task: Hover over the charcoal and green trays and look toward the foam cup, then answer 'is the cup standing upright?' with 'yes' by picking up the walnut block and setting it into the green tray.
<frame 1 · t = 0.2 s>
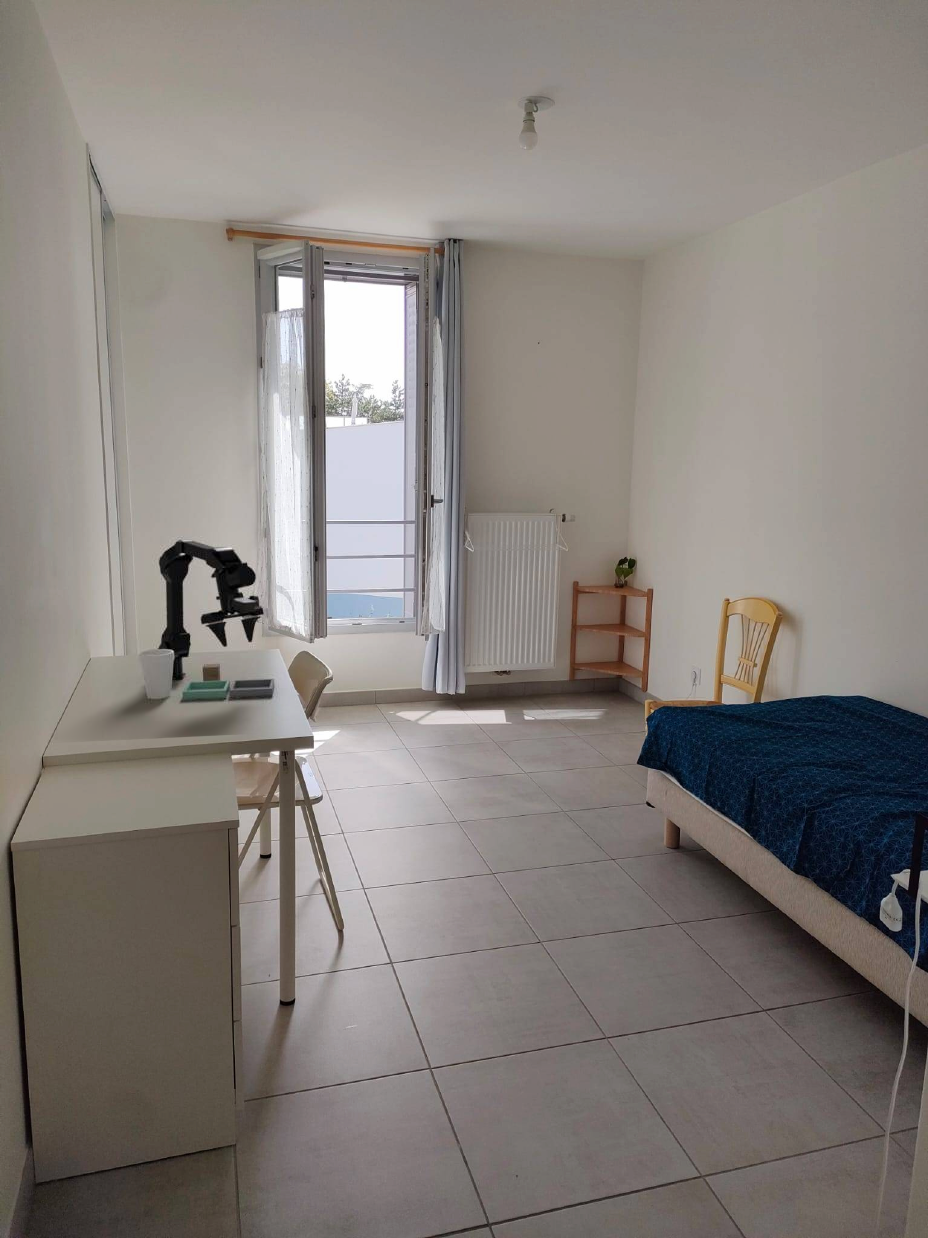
hand: (238, 644, 253), 15 cm above the table, tool pointing down, fingers open, 9 cm apart
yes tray: (207, 694, 257), on the table
foam cup: (159, 696, 255), on the table
walnut block: (212, 684, 269), on the table
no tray: (252, 692, 259), on the table
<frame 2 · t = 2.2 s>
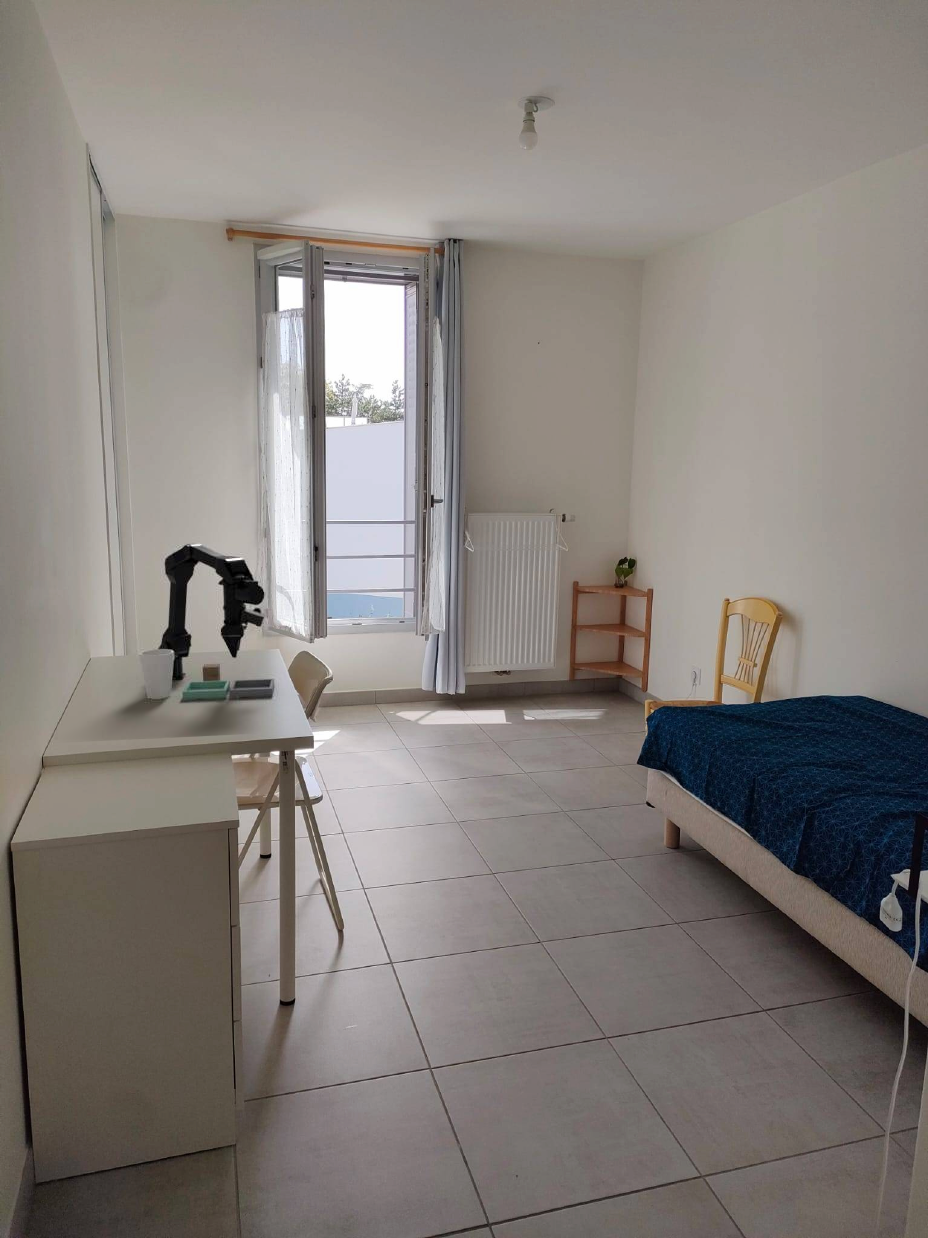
hand: (235, 654, 257), 12 cm above the table, tool pointing down, fingers open, 9 cm apart
nothing on the table moved.
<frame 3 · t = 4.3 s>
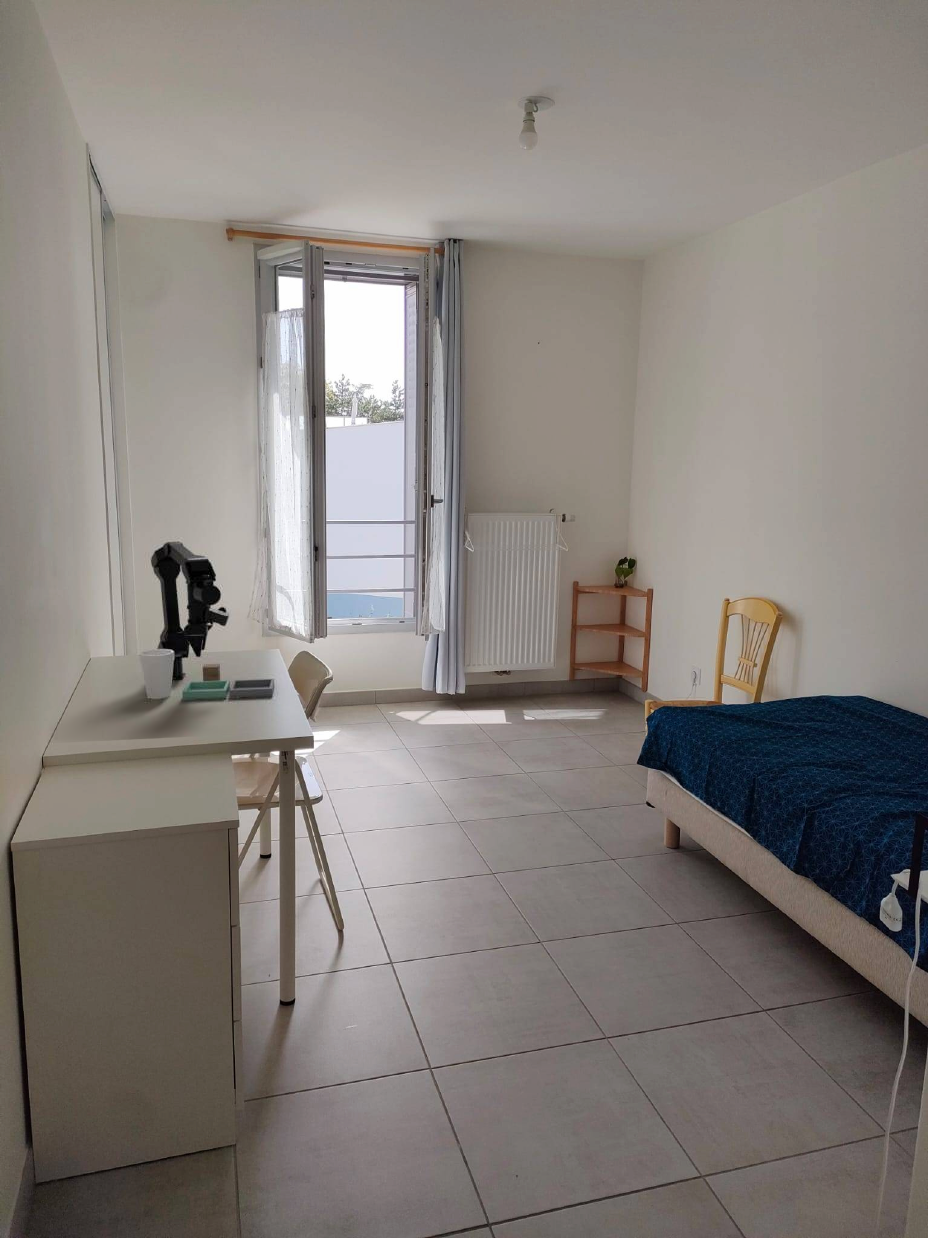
hand: (200, 653, 256), 12 cm above the table, tool pointing down, fingers open, 9 cm apart
nothing on the table moved.
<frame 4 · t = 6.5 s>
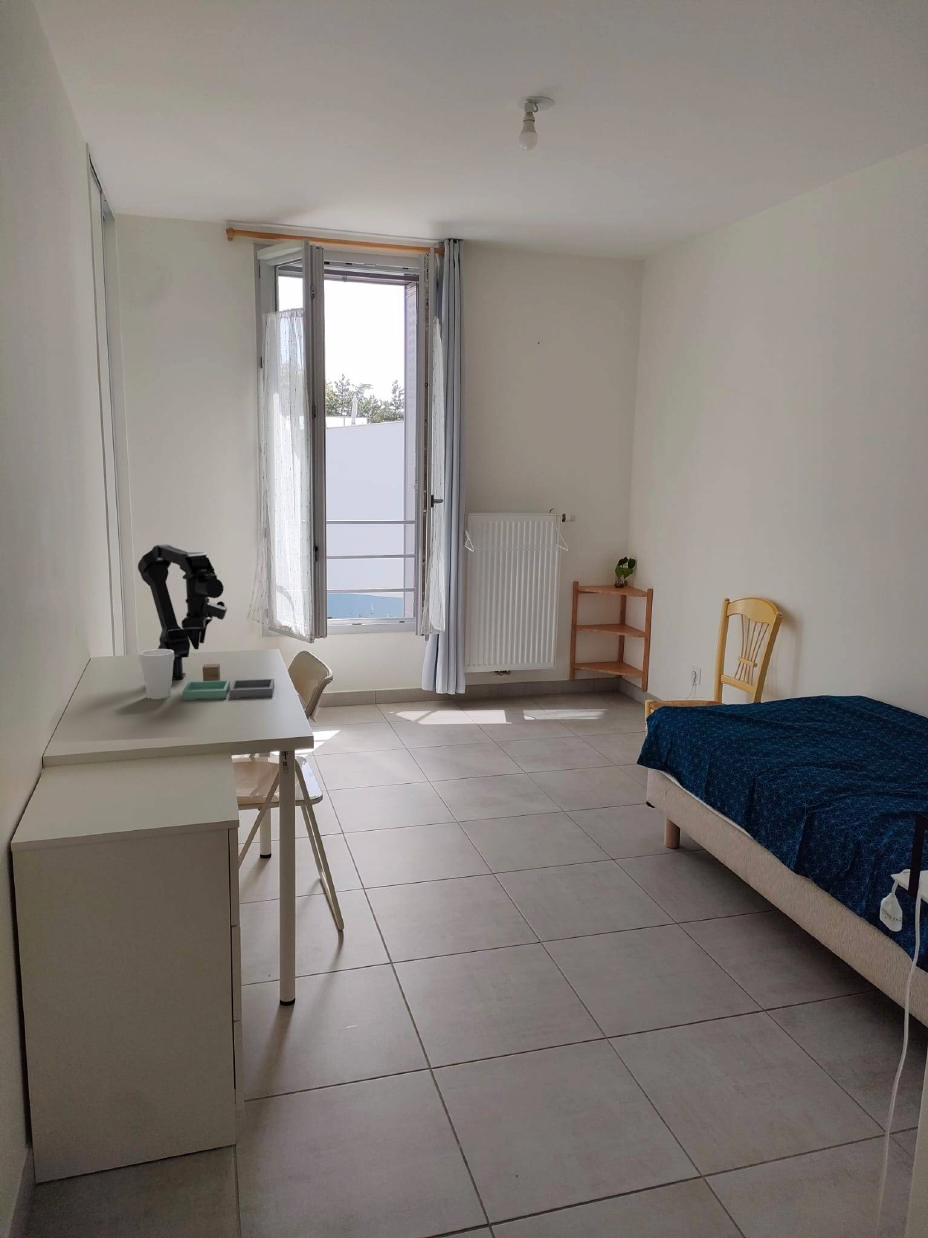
hand: (199, 646, 265), 12 cm above the table, tool pointing down, fingers open, 9 cm apart
nothing on the table moved.
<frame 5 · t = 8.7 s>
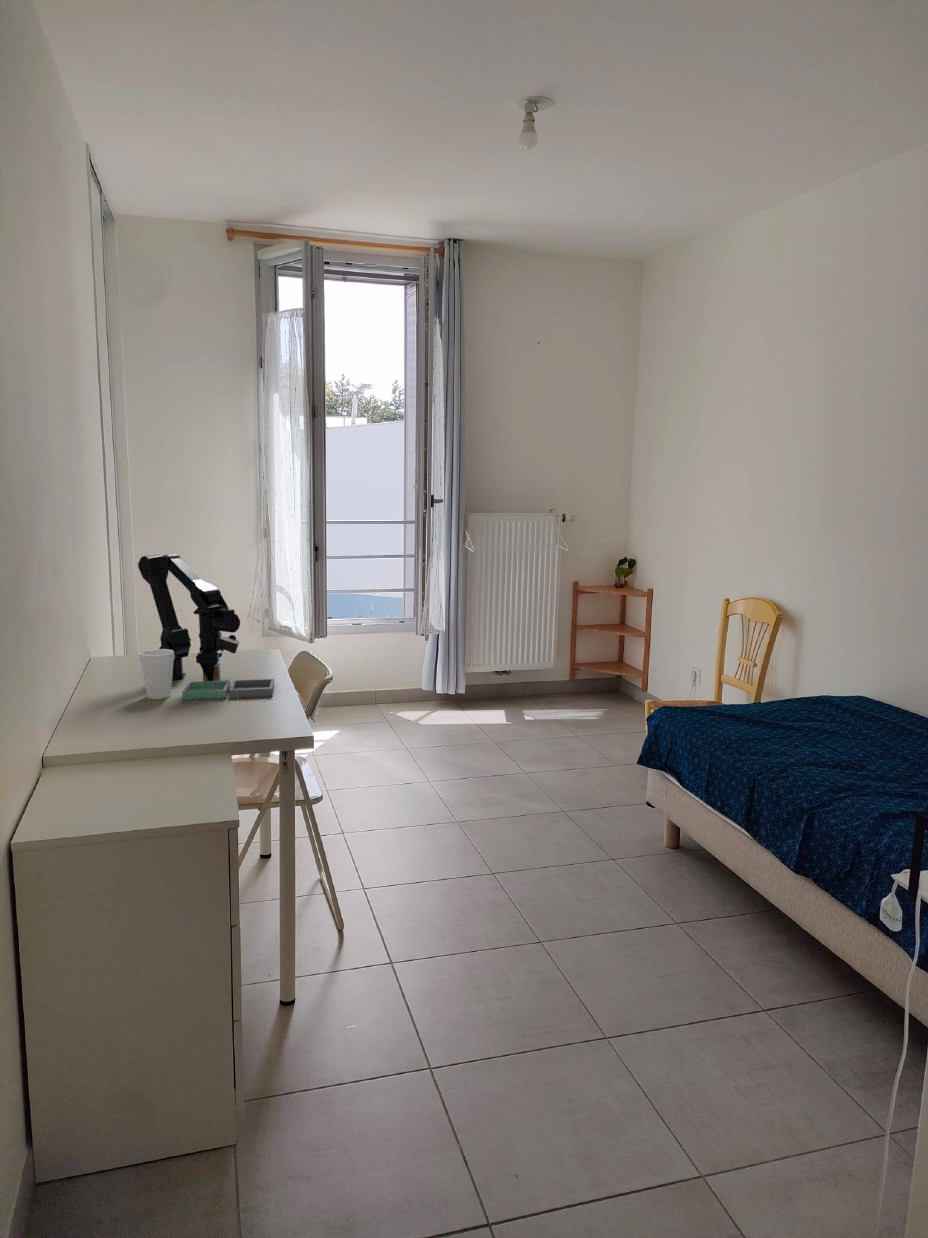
hand: (211, 679, 268), 2 cm above the table, tool pointing down, fingers closed on walnut block, 4 cm apart
walnut block: (212, 684, 269), on the table, touching gripper
everything else where it was.
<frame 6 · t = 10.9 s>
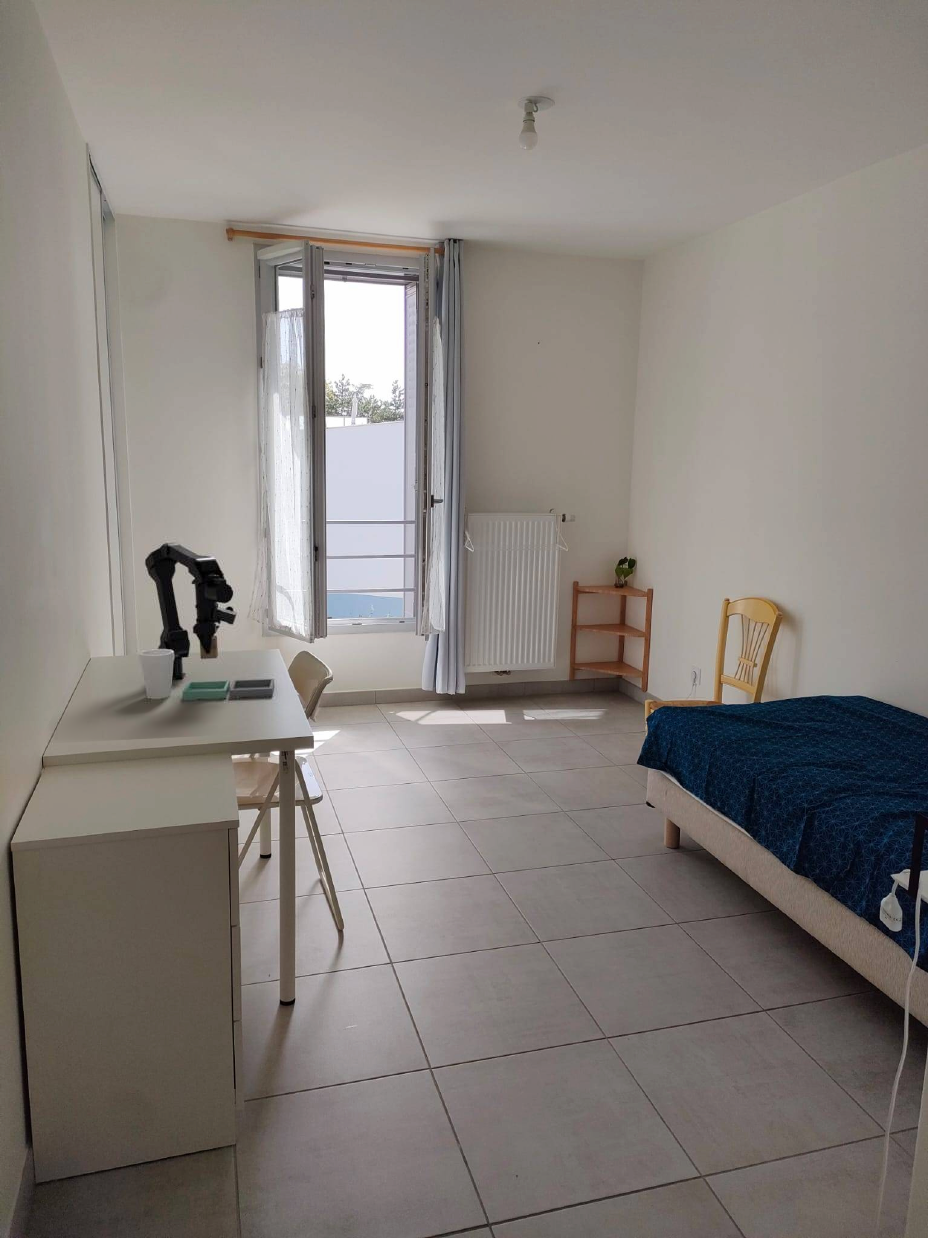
hand: (208, 652, 261), 11 cm above the table, tool pointing down, fingers closed on walnut block, 4 cm apart
walnut block: (209, 657, 262), point 10 cm above the table, touching gripper
everything else where it was.
when the fingers open (4 cm above the table, at t = 13.4 s): walnut block drops 1 cm, resting on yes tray.
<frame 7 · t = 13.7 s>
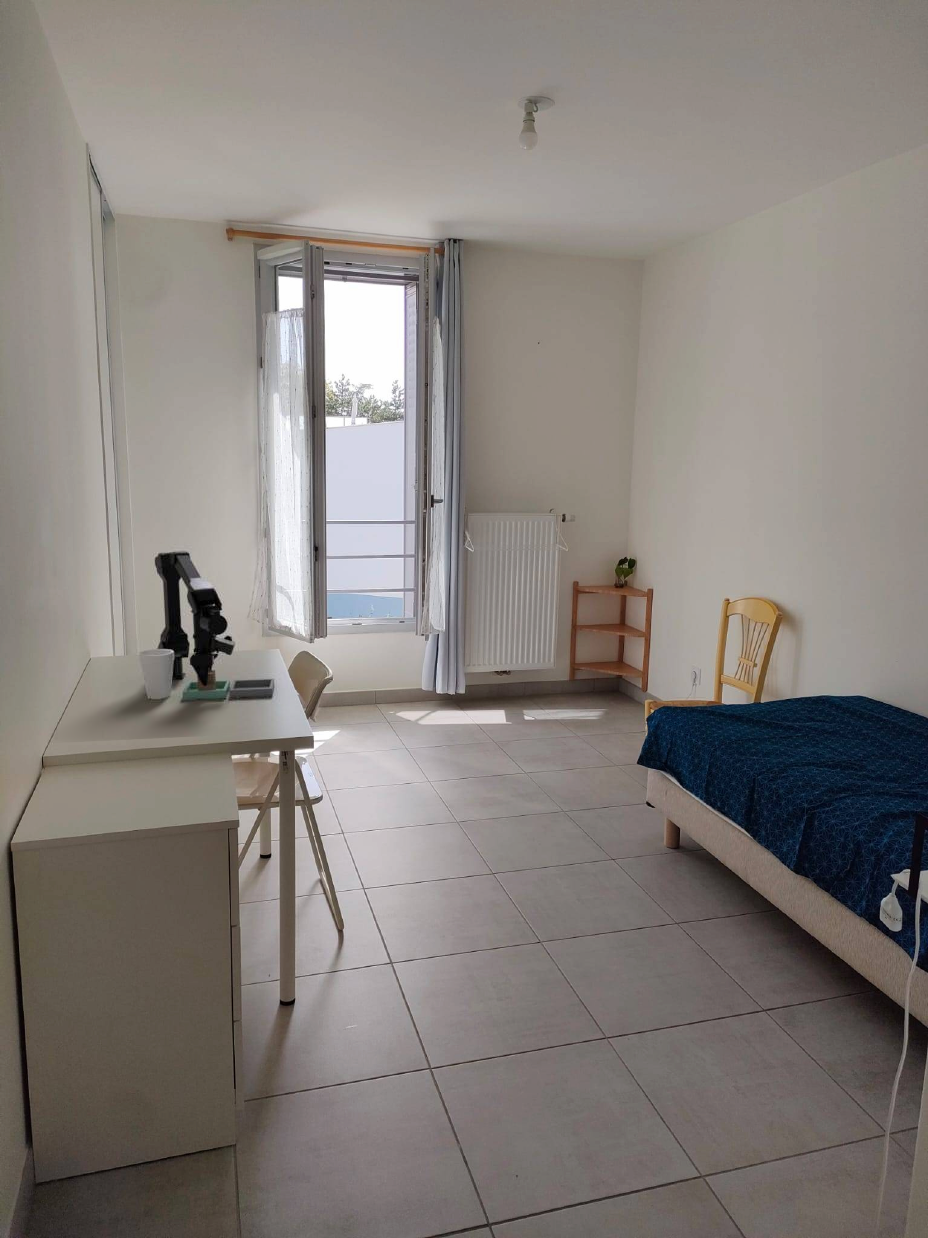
hand: (206, 682, 256), 4 cm above the table, tool pointing down, fingers open, 7 cm apart
walnut block: (207, 692, 257), point 1 cm above the table, touching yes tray
everything else where it was.
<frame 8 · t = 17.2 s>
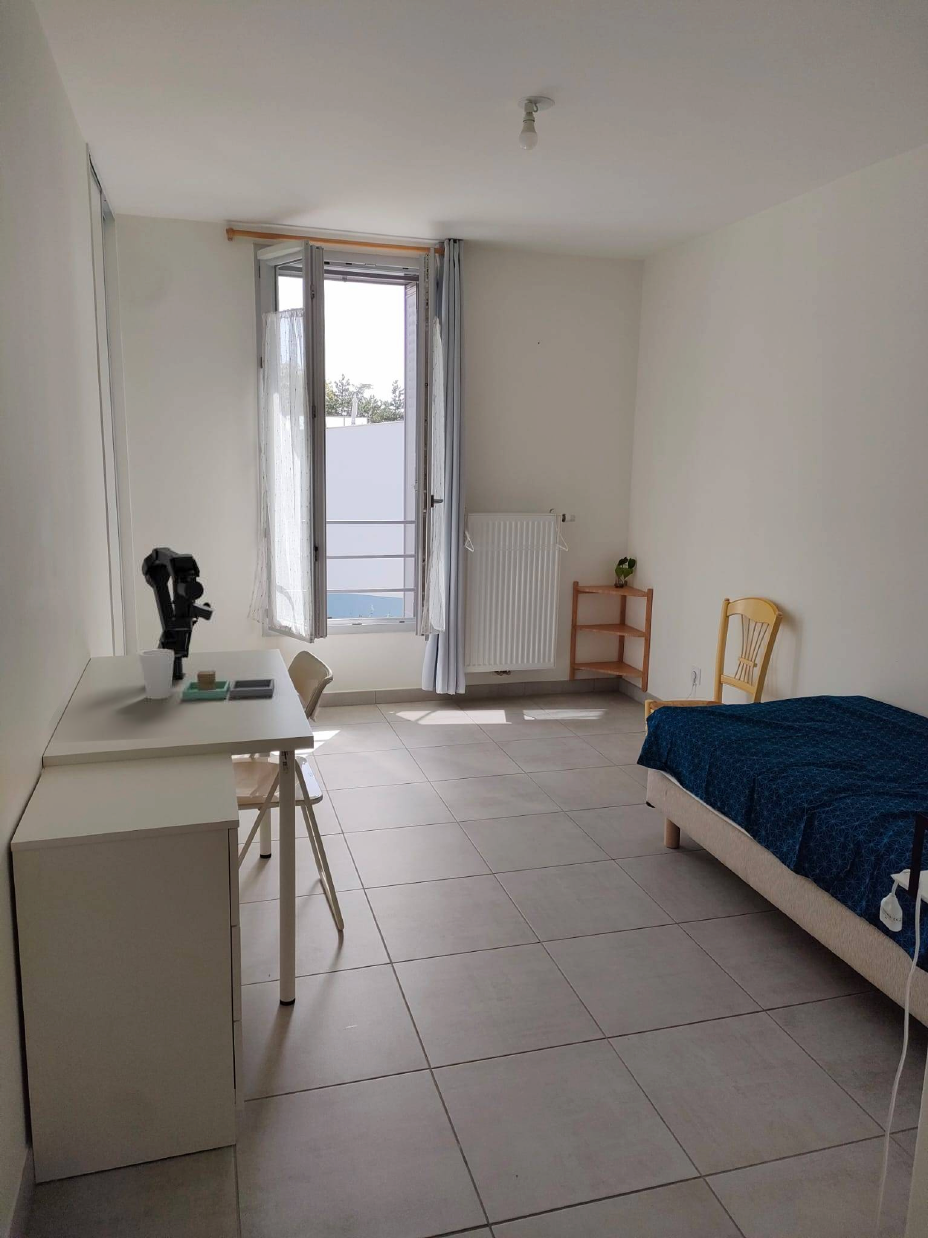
hand: (185, 647, 265), 12 cm above the table, tool pointing down, fingers open, 9 cm apart
nothing on the table moved.
at the end: walnut block inside the target area on the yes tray (0.1 cm from its centre), point 0.6 cm above the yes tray's base; foam cup tilted 0°; foam cup moved 0.2 cm from its start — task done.
